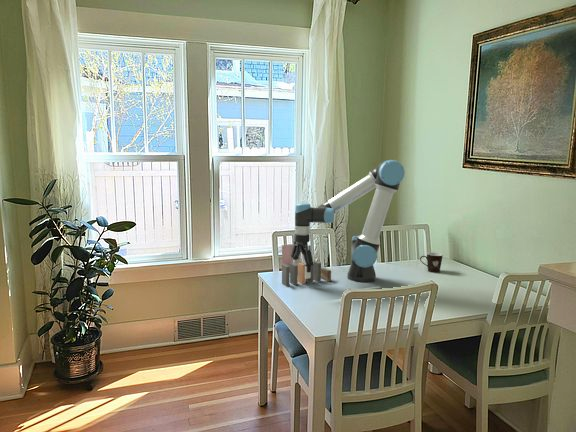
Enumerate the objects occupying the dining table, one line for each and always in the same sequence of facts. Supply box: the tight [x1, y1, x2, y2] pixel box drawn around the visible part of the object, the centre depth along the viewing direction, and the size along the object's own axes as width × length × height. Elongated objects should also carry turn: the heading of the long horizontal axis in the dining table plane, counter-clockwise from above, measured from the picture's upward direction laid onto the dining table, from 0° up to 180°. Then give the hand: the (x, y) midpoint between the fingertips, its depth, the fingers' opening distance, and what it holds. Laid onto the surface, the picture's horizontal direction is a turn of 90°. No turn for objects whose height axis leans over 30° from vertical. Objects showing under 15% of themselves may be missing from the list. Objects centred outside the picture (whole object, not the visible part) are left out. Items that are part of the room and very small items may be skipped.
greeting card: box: [281, 243, 302, 266], centre depth 243 cm, size 11×7×15 cm, turn 113°
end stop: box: [321, 266, 332, 283], centre depth 228 cm, size 2×7×6 cm, turn 25°
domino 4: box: [313, 260, 322, 283], centre depth 226 cm, size 2×5×10 cm, turn 25°
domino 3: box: [305, 264, 314, 284], centre depth 224 cm, size 2×5×10 cm, turn 25°
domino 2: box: [289, 263, 299, 286], centre depth 220 cm, size 2×5×10 cm, turn 26°
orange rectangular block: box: [297, 262, 306, 285], centre depth 222 cm, size 2×5×10 cm, turn 26°
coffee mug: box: [419, 252, 444, 274], centre depth 249 cm, size 12×9×10 cm
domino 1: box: [281, 264, 290, 287], centre depth 218 cm, size 2×5×10 cm, turn 25°
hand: (301, 275), depth 222 cm, fingers open, 13 cm apart
